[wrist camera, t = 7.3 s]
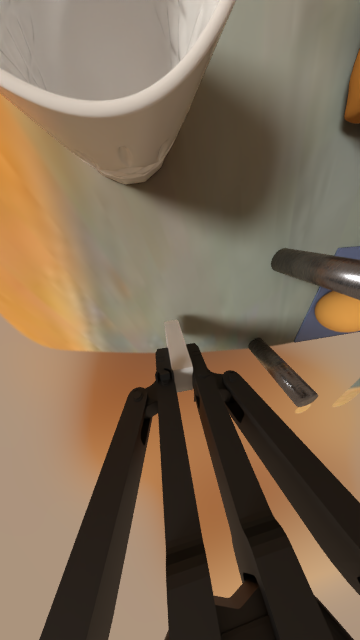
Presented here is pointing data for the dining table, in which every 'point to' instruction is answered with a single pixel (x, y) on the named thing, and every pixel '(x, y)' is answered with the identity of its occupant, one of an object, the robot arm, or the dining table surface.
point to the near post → (320, 270)
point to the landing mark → (310, 324)
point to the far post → (283, 374)
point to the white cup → (109, 73)
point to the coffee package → (354, 94)
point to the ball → (338, 312)
